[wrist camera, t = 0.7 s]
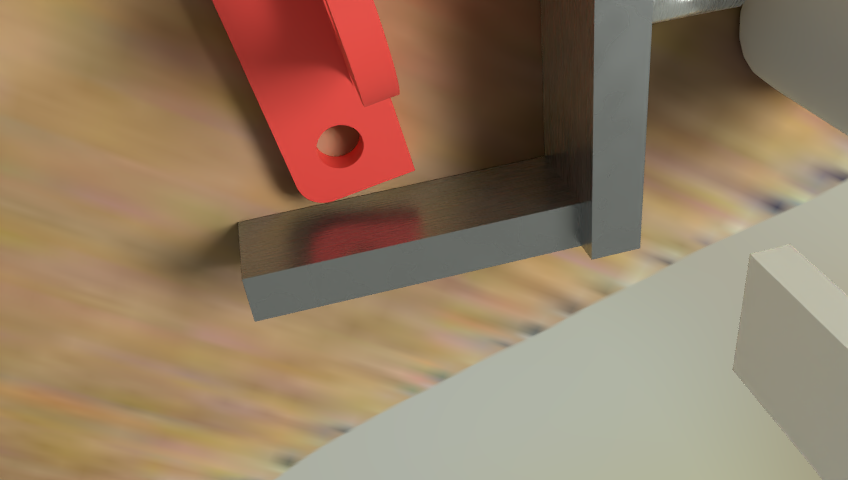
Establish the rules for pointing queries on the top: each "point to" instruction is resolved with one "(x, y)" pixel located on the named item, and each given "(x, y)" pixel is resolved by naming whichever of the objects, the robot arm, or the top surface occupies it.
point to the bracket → (322, 87)
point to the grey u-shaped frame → (491, 180)
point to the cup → (801, 52)
